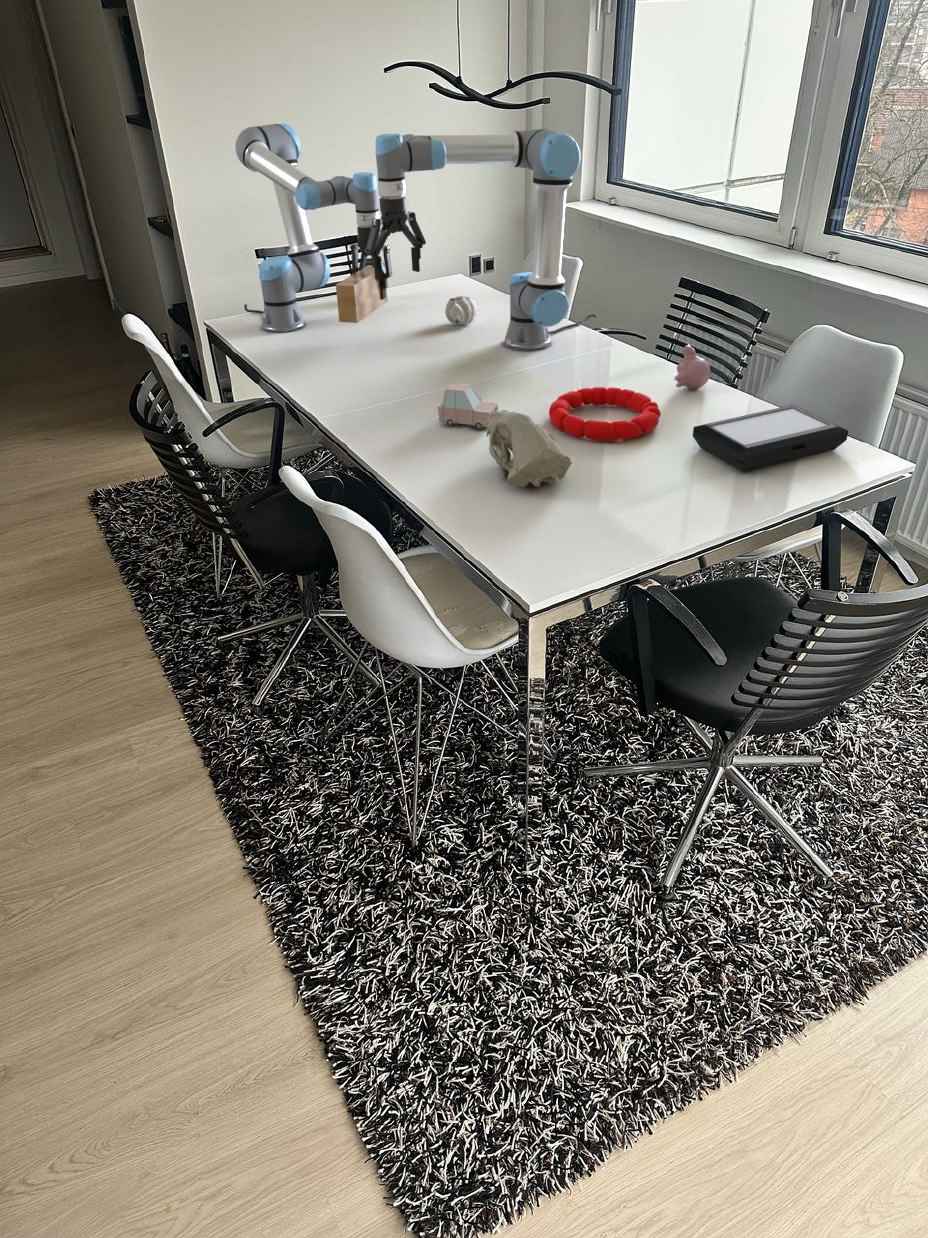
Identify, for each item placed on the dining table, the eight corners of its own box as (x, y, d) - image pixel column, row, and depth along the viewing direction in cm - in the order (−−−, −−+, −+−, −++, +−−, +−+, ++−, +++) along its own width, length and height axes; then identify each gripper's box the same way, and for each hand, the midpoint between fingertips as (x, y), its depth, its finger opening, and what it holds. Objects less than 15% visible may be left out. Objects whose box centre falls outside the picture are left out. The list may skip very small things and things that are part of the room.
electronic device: (745, 452, 210) (694, 423, 225) (741, 476, 213) (691, 446, 228) (849, 427, 220) (793, 401, 235) (844, 450, 224) (789, 423, 239)
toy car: (488, 432, 240) (488, 396, 234) (436, 426, 244) (434, 390, 239) (499, 419, 247) (499, 384, 241) (448, 413, 252) (447, 379, 246)
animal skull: (496, 517, 219) (521, 479, 201) (463, 429, 225) (484, 384, 207) (557, 503, 225) (586, 465, 206) (523, 417, 231) (549, 373, 212)
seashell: (437, 324, 323) (436, 295, 317) (473, 317, 329) (473, 289, 323) (451, 331, 315) (450, 302, 310) (487, 324, 321) (487, 295, 316)
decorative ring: (589, 435, 224) (684, 402, 234) (527, 398, 247) (617, 369, 256) (589, 461, 229) (683, 427, 238) (529, 422, 251) (617, 393, 260)
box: (370, 300, 310) (367, 265, 303) (387, 301, 308) (385, 266, 301) (339, 321, 290) (335, 284, 283) (357, 322, 288) (353, 285, 281)
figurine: (665, 387, 264) (669, 347, 257) (693, 380, 268) (698, 340, 261) (686, 396, 257) (690, 355, 250) (714, 388, 262) (720, 348, 255)
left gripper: (336, 226, 291) (343, 298, 304) (391, 229, 286) (396, 302, 299) (346, 221, 297) (352, 292, 310) (400, 224, 292) (404, 296, 305)
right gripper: (363, 204, 241) (370, 285, 253) (435, 191, 254) (438, 269, 266) (348, 201, 246) (355, 280, 258) (419, 189, 259) (423, 265, 271)
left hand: (374, 297), depth 305 cm, fingers closed on box, 6 cm apart
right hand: (397, 275), depth 262 cm, fingers open, 13 cm apart
